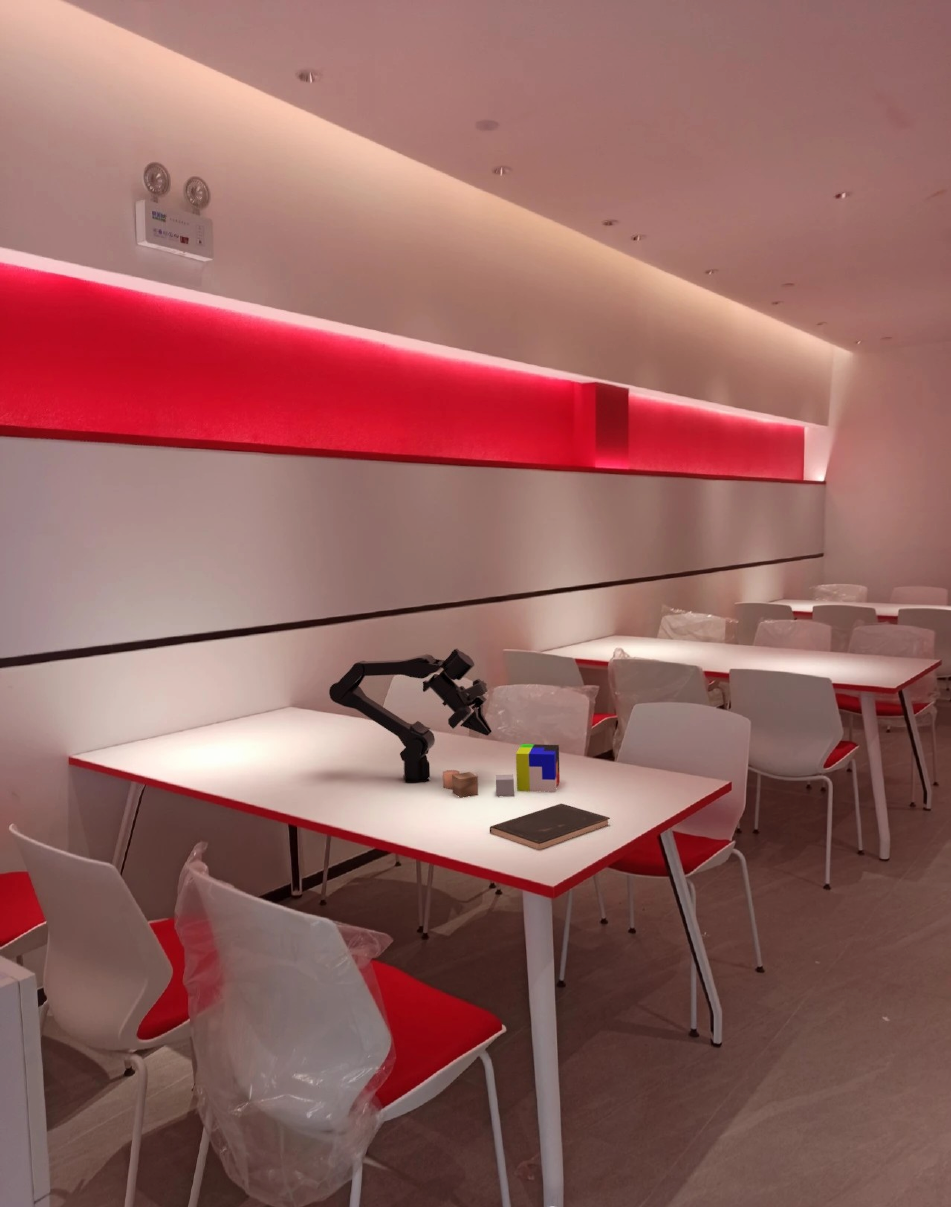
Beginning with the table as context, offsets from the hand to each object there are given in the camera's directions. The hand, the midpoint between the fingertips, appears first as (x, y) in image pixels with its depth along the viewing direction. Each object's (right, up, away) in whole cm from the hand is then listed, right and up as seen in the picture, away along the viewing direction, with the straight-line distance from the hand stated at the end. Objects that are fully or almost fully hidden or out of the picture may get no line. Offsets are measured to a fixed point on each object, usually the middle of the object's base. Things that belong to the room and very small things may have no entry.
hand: (489, 733), depth 252 cm
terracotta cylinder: (-10, -14, -1) cm, 17 cm away
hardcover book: (+13, -17, -36) cm, 42 cm away
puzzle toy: (+13, -14, -2) cm, 19 cm away
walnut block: (-6, -15, -8) cm, 18 cm away
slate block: (+4, -14, -8) cm, 17 cm away
